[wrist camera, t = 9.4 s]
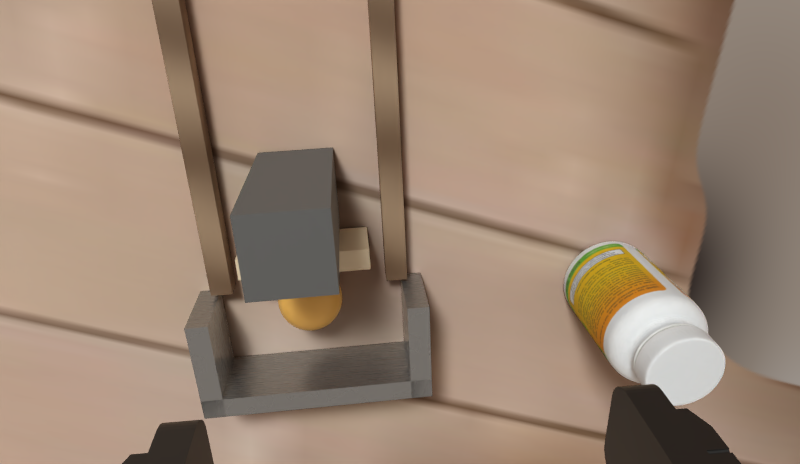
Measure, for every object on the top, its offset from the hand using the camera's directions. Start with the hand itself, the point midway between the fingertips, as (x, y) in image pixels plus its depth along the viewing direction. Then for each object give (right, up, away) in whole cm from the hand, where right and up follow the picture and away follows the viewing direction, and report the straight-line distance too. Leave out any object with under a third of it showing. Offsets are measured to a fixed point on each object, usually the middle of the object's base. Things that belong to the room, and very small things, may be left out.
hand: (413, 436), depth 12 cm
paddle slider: (-6, +6, +22) cm, 23 cm away
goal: (-5, -2, +25) cm, 26 cm away
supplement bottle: (+12, +1, +26) cm, 29 cm away
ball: (-5, 0, +22) cm, 23 cm away
